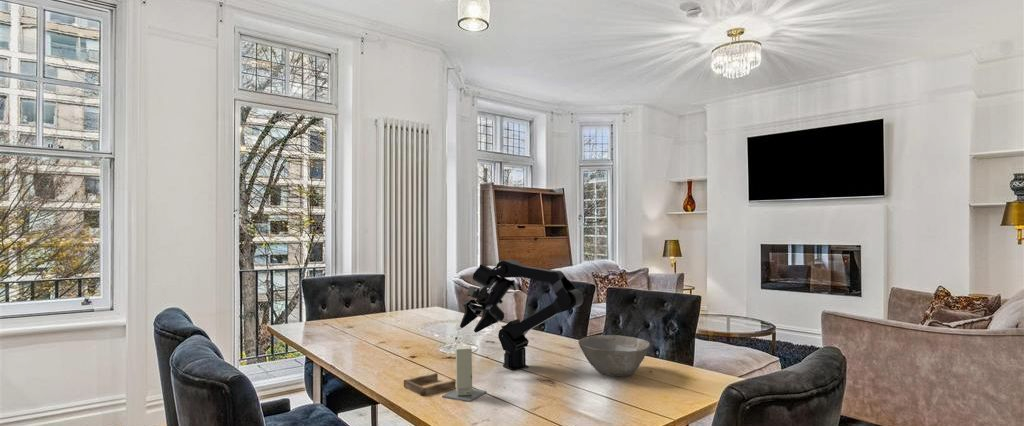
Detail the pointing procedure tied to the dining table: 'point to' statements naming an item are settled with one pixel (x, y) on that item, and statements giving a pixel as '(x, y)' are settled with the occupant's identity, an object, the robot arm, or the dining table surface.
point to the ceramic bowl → (614, 353)
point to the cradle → (415, 387)
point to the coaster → (467, 398)
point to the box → (464, 370)
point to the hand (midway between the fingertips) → (467, 329)
